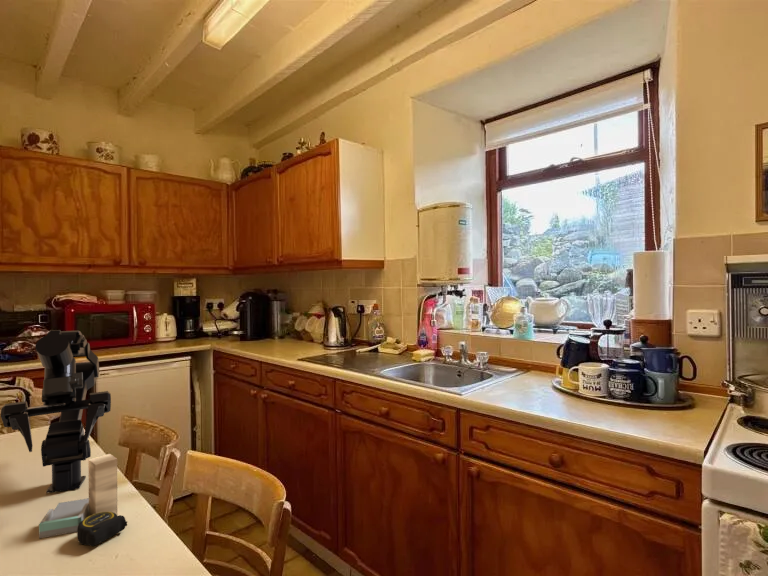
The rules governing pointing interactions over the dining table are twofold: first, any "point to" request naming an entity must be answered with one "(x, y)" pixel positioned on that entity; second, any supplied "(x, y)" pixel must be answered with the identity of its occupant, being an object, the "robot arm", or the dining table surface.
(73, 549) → the dining table surface
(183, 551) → the dining table surface
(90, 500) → the beech post
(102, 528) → the tape measure
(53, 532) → the grey shallow tray
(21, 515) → the dining table surface
